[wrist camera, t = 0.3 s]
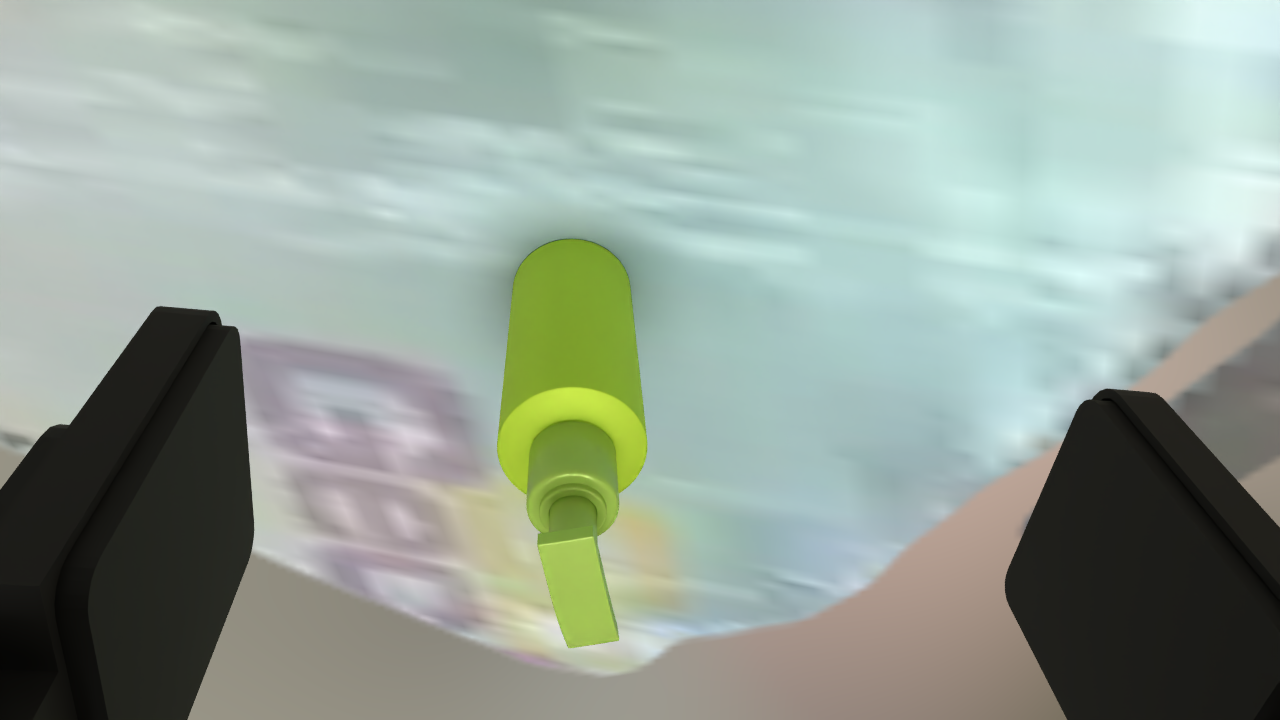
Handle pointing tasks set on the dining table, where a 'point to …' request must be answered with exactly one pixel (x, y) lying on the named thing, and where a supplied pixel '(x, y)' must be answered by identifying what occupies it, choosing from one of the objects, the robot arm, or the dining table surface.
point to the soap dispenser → (572, 419)
